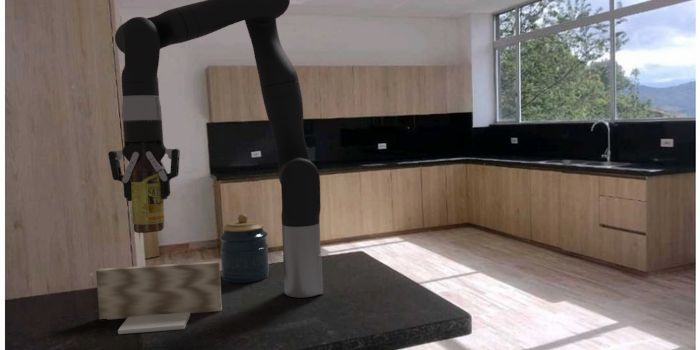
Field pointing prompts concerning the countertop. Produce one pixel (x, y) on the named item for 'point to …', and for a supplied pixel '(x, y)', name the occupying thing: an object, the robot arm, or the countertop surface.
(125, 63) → the robot arm
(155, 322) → the white plate
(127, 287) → the birch board
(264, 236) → the canister
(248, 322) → the countertop surface
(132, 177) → the sauce bottle
